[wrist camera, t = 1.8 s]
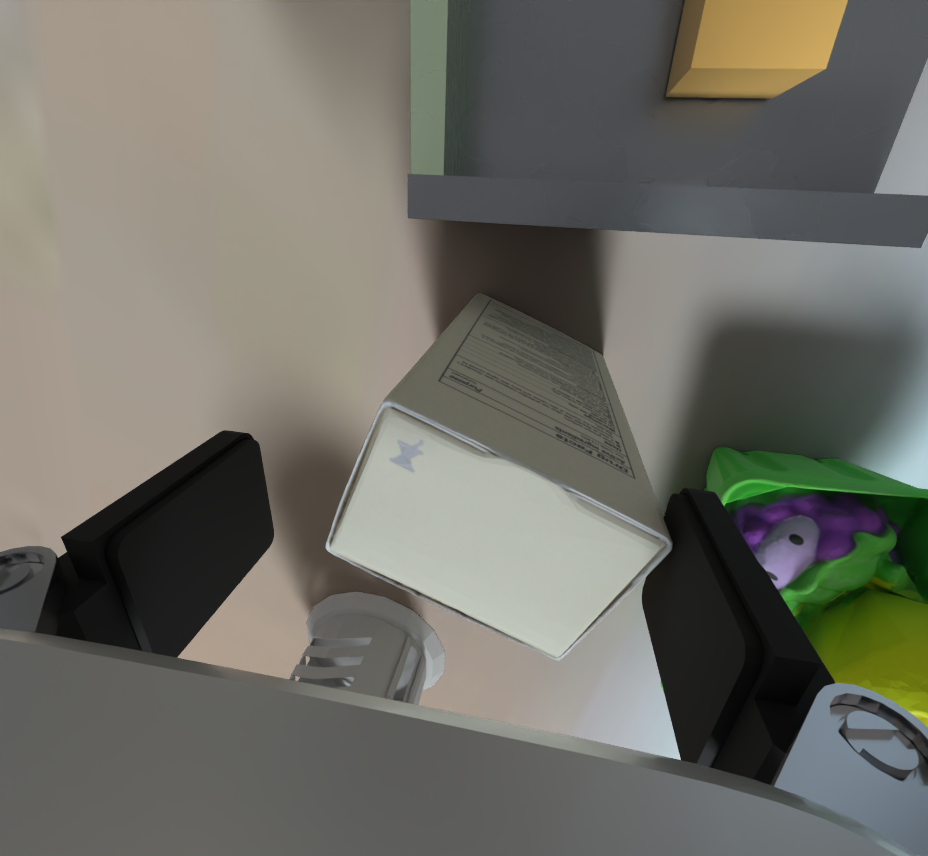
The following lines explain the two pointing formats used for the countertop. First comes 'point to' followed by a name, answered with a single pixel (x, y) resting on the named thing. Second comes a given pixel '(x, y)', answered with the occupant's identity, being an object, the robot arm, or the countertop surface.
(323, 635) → the french press
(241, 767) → the robot arm
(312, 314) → the countertop surface
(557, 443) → the skincare box
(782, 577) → the fruit basket
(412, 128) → the box
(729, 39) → the slider
